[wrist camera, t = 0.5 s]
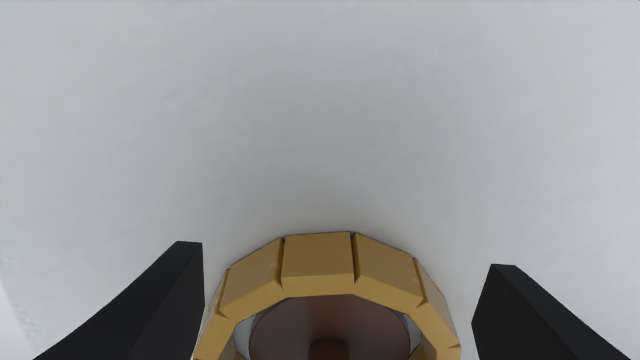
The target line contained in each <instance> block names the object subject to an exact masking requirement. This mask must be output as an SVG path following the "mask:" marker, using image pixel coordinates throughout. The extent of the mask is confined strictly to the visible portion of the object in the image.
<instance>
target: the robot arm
mask: <svg viewBox="0 0 640 360" xmlns="http://www.w3.org/2000/svg"><path fill="white" fill-rule="evenodd" d="M204 307H205V297H204V274H203V250H202V243H199V242H185V241H176V242H175V243H174V244H173V245H172V246H171V247H170V248H168V249H167V250H166V251H165V252H164V253H163V254H162V255H161V256H160V257H159V258H158V259H157V260H156V261H155V262H154V263H153V264H152V265H151V266H150V267H149V268H148V269H146V270H145V271H144V272H143V273H142V274H141V275H140V276H139V277H138V278H137V279H136V280H134V281H133V282H132V283H131V284H130V285H129V286H128V287H127V288H126V289H124V290H123V291H122V292H121V293H120V294H119V295H118V296H117V297H115V298H114V299H113V300H112V301H111V302H109V303H108V304H107V305H106V306H104V307H103V308H102V309H101V310H100V311H98V312H97V313H96V314H95V315H93V316H92V317H91V318H90V319H88V320H87V321H86V322H85V323H83V324H82V325H81V326H80V327H78V328H77V329H76V330H74V331H73V332H72V333H70V334H69V335H68V336H66V337H65V338H63V339H62V340H61V341H59V342H58V343H56V344H55V345H53V346H52V347H51V348H49V349H48V350H46V351H45V352H43V353H42V354H40V355H39V356H37V357H36V358H34V359H33V360H190V359H191V356H192V353H193V350H194V348H195V345H196V341H197V337H198V333H199V329H200V325H201V320H202V316H203V312H204ZM471 325H472V330H473V334H474V339H475V343H476V347H477V351H478V355H479V359H480V360H631V359H629V358H628V357H627V356H625V355H624V354H623V353H622V352H620V351H619V350H618V349H616V348H615V347H614V346H612V345H611V344H610V343H608V342H607V341H606V340H605V339H603V338H602V337H601V336H600V335H598V334H597V333H596V332H595V331H593V330H592V329H591V328H590V327H589V326H587V325H586V324H585V323H584V322H582V321H581V320H580V319H579V318H578V317H576V316H575V315H574V314H573V313H572V312H571V311H569V310H568V309H567V308H566V307H565V306H563V305H562V304H561V303H560V302H559V301H558V300H556V299H555V298H554V297H553V296H552V295H551V294H549V293H548V292H547V291H546V290H545V289H544V288H542V287H541V286H540V285H539V284H538V283H537V282H535V281H534V280H533V279H532V278H531V277H529V276H528V275H527V274H526V273H524V272H523V271H522V270H521V269H519V268H518V267H517V266H515V265H503V264H491V266H490V269H489V272H488V275H487V278H486V281H485V284H484V287H483V290H482V292H481V295H480V298H479V301H478V304H477V307H476V310H475V313H474V316H473V319H472V322H471Z"/></svg>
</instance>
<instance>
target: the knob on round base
mask: <svg viewBox="0 0 640 360" xmlns="http://www.w3.org/2000/svg"><path fill="white" fill-rule="evenodd" d="M409 354H410V338H409V334H408V329H407V325H406V321H405V319H404V317H403V315H402V313H401V312H399V311H397V310H394V309H391V308H389V307H386V306H383V305H381V304H378V303H375V302H372V301H370V300H367V299H364V298H362V297H359V296H356V295H354V294H339V295H321V296H304V297H287V298H285V299H283V300H281V301H279V302H277V303H275V304H273V305H271V306H269V307H268V308H266V309H264V310H262V311H260V312H258V313H257V315H256V317H255V319H254V321H253V325H252V328H251V334H250V339H249V355H250V358H251V360H408V358H409Z"/></svg>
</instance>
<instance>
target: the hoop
mask: <svg viewBox="0 0 640 360" xmlns="http://www.w3.org/2000/svg"><path fill="white" fill-rule="evenodd" d="M339 294H354V295H356V296H359V297H362V298H364V299H367V300H370V301H372V302H375V303H378V304H381V305H383V306H386V307H389V308H391V309H394V310H397V311H399V312H402V313H405V314H408V316H409V317H410V318H411V319H412V321H413V322H414V323H415V324H416V326H417V327H418V328H419V329H420V331H421V332H422V342H421V344H420V345H419V346H418V347H417V348H416V350H415V351H414V352H413V353H412V354H411V356H410V357H409V358H408V360H460V353H461V346H460V343H459V339H458V336H457V333H456V330H455V327H454V324H453V321H452V318H451V316H450V313H449V310H448V307H447V304H446V301H445V298H444V296H443V295H442V293H441V292H440V290H439V289H438V288H437V286H436V285H435V284H434V282H433V281H432V280H431V278H430V277H429V275H428V274H427V273H426V271H425V270H424V269H423V267H422V266H421V264H420V263H419V262H418V260H417V259H416V258H415V259H413V260H412V256H411V254H408V253H406V252H403V251H401V250H398V249H396V248H393V247H391V246H388V245H386V244H383V243H381V242H378V241H376V240H374V239H371V238H369V237H366V236H364V235H361V234H359V233H355V235H354V236H353V238H352V240H351V238H350V232H333V233H317V234H302V235H287V236H286V237H285V243H284V242H283V241H282V240H281V239H280V238H278V239H276V240H274V241H273V242H271V243H269V244H268V245H266V246H264V247H262V248H261V249H259V250H257V251H255V252H254V253H252V254H250V255H248V256H247V257H245V258H243V259H242V260H240V261H238V262H236V263H235V264H233V265H231V267H230V270H226V272H225V274H224V276H223V278H222V280H221V282H220V284H219V286H218V288H217V290H216V292H215V294H214V296H213V298H212V300H211V302H210V305H209V307H208V309H207V311H206V314H205V318H204V321H203V324H202V328H201V331H200V334H199V337H198V341H197V344H196V347H195V351H194V354H193V357H194V358H193V360H245V359H244V358H243V357H242V356H241V355H240V354H239V353H238V352H236V348H235V344H234V339H233V335H232V333H233V331H234V329H235V327H236V325H237V323H239V322H241V321H243V320H245V319H247V318H249V317H251V316H252V315H254V314H256V313H258V312H260V311H262V310H264V309H266V308H268V307H269V306H271V305H273V304H275V303H277V302H279V301H281V300H283V299H285V298H287V297H304V296H321V295H339Z"/></svg>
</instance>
